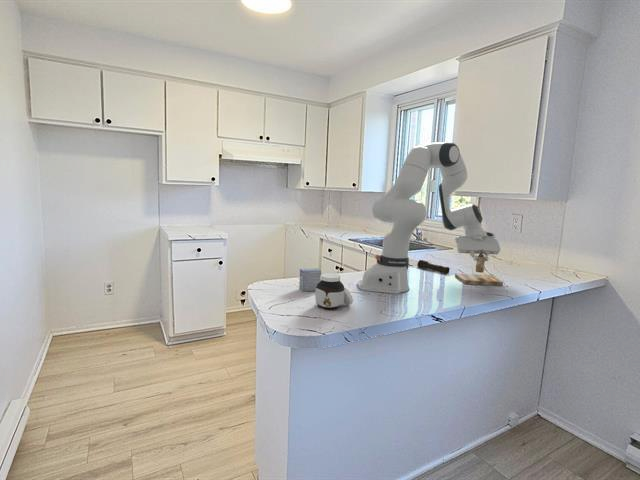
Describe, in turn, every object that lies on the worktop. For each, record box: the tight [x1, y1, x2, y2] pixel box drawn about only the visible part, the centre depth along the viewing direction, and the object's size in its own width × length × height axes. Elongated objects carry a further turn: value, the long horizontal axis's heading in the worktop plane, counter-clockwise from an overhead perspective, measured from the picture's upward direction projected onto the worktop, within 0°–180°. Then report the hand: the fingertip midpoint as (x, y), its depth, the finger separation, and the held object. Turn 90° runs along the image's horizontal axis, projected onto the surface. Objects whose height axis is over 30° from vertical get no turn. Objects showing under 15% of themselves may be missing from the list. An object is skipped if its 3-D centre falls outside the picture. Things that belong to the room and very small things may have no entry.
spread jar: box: [314, 272, 354, 311], centre depth 131 cm, size 12×11×12 cm
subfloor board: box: [454, 273, 504, 287], centre depth 177 cm, size 18×13×2 cm
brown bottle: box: [475, 249, 486, 274], centre depth 176 cm, size 4×4×11 cm
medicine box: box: [298, 267, 322, 292], centre depth 150 cm, size 8×4×9 cm, turn 111°
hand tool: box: [417, 259, 450, 275], centre depth 196 cm, size 19×4×5 cm, turn 37°
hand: (481, 260), depth 175 cm, fingers closed on brown bottle, 4 cm apart
